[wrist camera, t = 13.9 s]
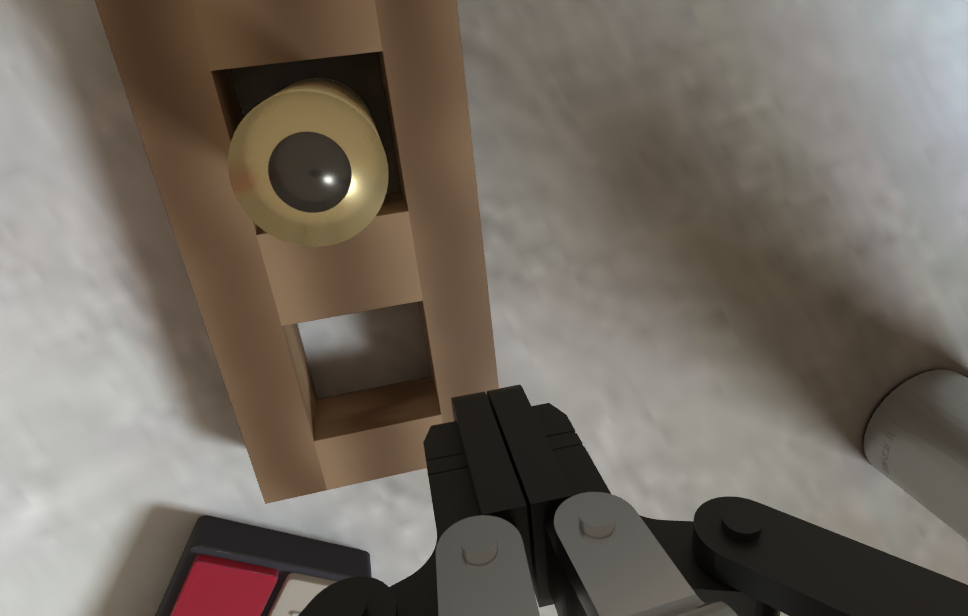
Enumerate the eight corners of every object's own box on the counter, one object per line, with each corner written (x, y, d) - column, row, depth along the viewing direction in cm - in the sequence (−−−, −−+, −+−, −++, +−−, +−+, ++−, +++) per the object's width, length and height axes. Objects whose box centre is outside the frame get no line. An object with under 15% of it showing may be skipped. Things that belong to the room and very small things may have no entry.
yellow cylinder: (365, 71, 27) (373, 81, 18) (383, 178, 29) (400, 234, 20) (254, 84, 27) (207, 102, 18) (281, 193, 29) (251, 258, 20)
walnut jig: (436, -36, 26) (451, -49, 23) (489, 410, 36) (505, 450, 33) (127, -6, 24) (89, -16, 21) (273, 456, 34) (265, 503, 31)
